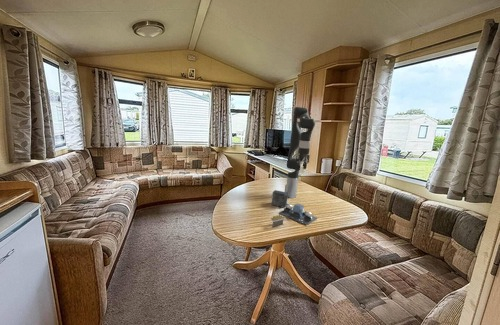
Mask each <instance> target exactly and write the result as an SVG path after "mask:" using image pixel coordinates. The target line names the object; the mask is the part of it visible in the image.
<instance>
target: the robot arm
mask: <svg viewBox="0 0 500 325" xmlns="http://www.w3.org/2000/svg"><path fill="white" fill-rule="evenodd" d="M298 120H299V124H298ZM315 125H316V120H315V119H314V118H310V115H309V109H308V108H307V107H303V106H301V107H300V106H296V107H294V110H293V117H292V126H291V127H292V128H291V134H290V139H289V140H290V141H289V151H288V155H287V160H286V168H287V169H289V170H294V171H291V172H288V173H287V176H286V183H285V185H284V186H285V187H284V192H287V193H288V196H287V198H291V199H294V198H296V197H297V191H298V182H299V174H300V170H301V164H302V163H303V166H302V168H303V169H304V170H306V169H307V165H308V164H309V163H310V156H311V155H310V148H311V139H312V138H311V137H312V133H313V131H314V128H315ZM300 128H301V129H303V130H304V129H306V131H302V130H301V129H300ZM297 150H298V152H297V153H298V155H296V157H294V158H293V155H294V153H295V152H296V151H297Z"/></svg>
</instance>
